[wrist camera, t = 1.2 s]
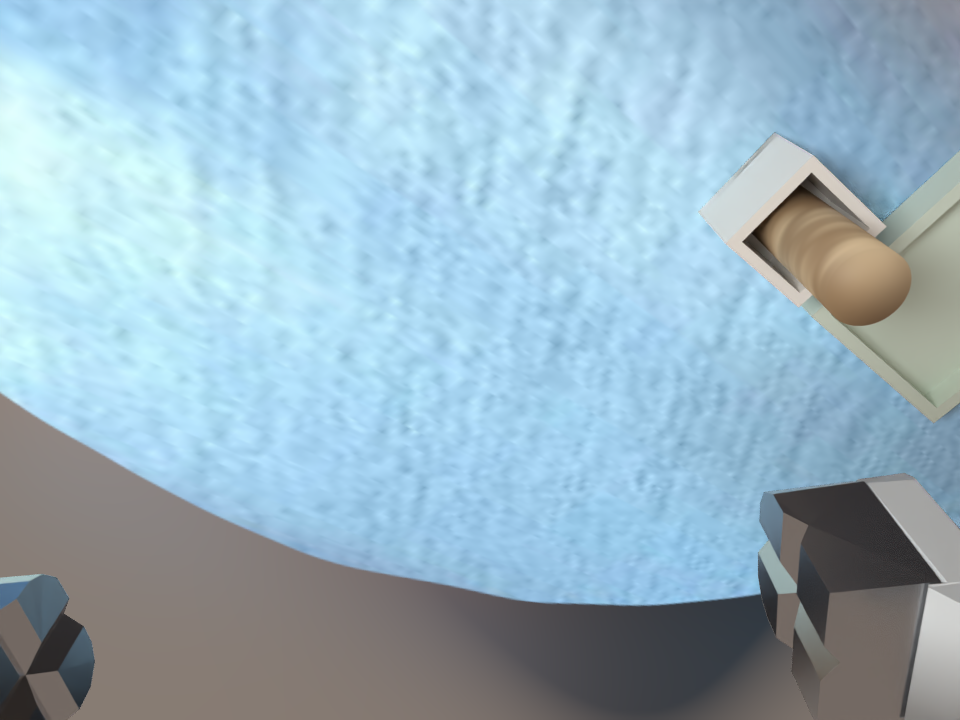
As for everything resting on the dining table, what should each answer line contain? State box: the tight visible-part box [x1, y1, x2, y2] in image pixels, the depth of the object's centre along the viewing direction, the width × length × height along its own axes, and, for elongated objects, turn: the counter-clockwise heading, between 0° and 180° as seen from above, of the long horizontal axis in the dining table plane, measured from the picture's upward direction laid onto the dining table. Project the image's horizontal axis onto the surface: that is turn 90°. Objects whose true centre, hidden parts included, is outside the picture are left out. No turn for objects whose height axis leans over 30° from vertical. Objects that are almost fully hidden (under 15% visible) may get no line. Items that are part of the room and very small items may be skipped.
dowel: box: [751, 185, 912, 326], centre depth 38 cm, size 4×4×12 cm
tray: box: [801, 151, 960, 423], centre depth 45 cm, size 12×12×2 cm
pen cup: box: [698, 132, 887, 307], centre depth 42 cm, size 6×6×6 cm
